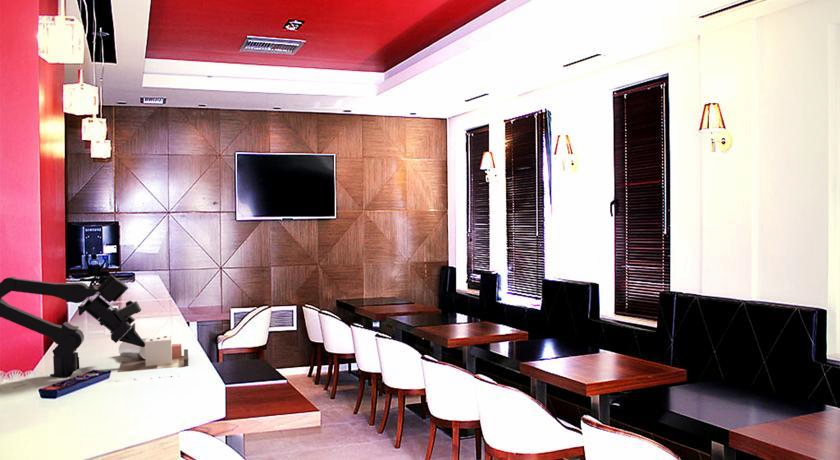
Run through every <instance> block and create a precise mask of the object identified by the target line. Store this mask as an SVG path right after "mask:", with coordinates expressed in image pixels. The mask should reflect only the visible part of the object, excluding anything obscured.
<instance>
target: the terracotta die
mask: <svg viewBox="0 0 840 460" xmlns="http://www.w3.org/2000/svg"><path fill="white" fill-rule="evenodd" d="M182 353H183V352H182V343H175V344H173V343H172V359H177V358H182V356H183V355H182Z"/></svg>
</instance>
